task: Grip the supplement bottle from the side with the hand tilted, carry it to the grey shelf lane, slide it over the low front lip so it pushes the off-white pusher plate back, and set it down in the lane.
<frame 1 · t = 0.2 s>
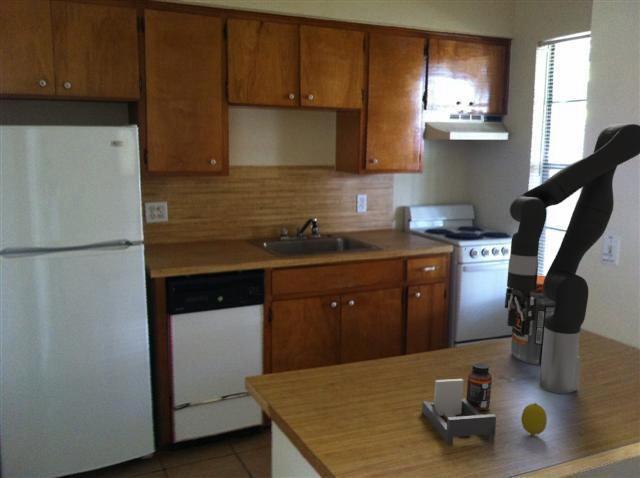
hand: (517, 330, 157), 18 cm above the counter, tool pointing down, fingers open, 8 cm apart
lemon: (532, 436, 136), on the counter
pusher plate: (456, 406, 139), point 5 cm above the counter, slide at 0.0 cm
supplement tub: (535, 358, 186), on the counter
supplement bottle: (477, 407, 150), on the counter
lane: (456, 425, 139), on the counter
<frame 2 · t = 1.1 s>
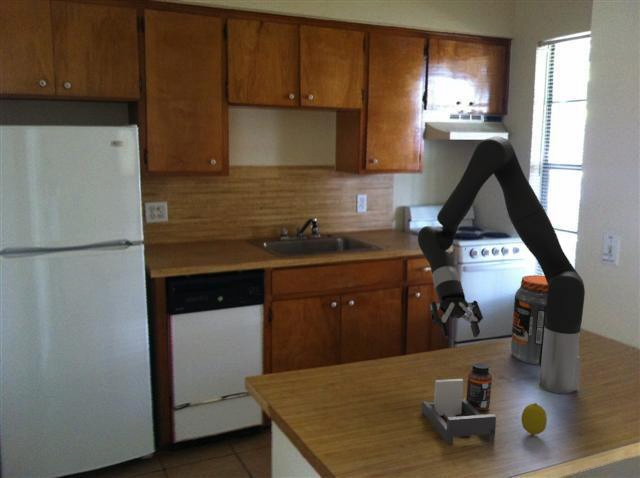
hand: (462, 336, 158), 15 cm above the counter, tool tilted 45°, fingers open, 8 cm apart
nothing on the counter moved.
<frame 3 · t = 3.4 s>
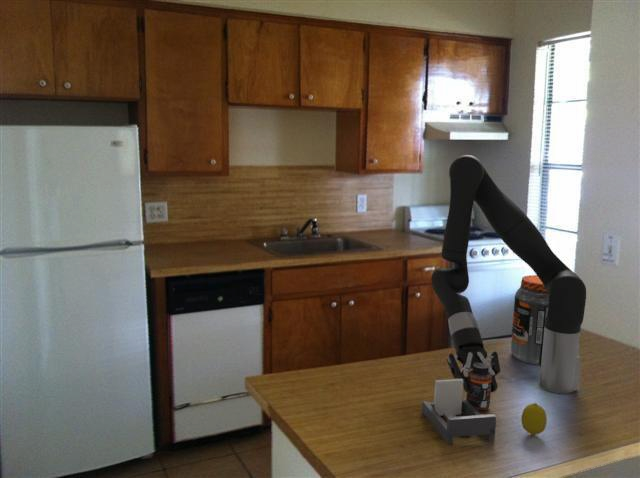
hand: (482, 391, 148), 5 cm above the counter, tool tilted 45°, fingers closed on supplement bottle, 6 cm apart
supplement bottle: (477, 407, 150), on the counter, touching gripper
everything else where it was.
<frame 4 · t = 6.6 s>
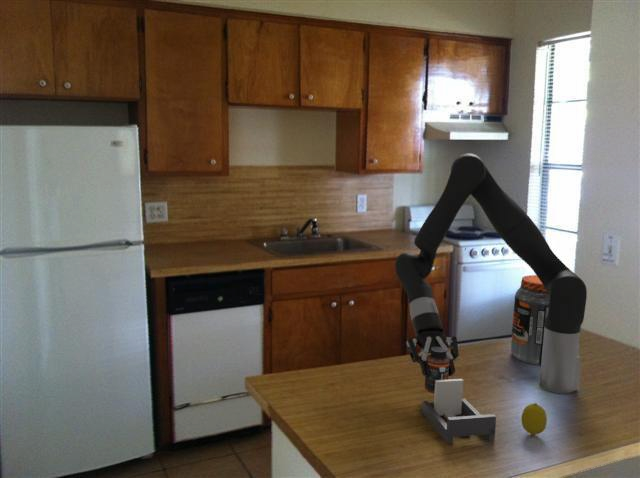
hand: (439, 375, 149), 8 cm above the counter, tool tilted 45°, fingers closed on supplement bottle, 6 cm apart
supplement bottle: (435, 390, 152), point 3 cm above the counter, touching gripper
everything else where it was.
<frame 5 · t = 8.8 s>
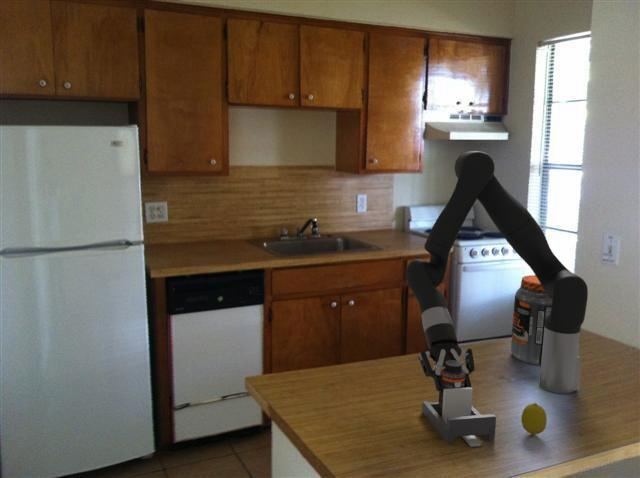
hand: (454, 390, 140), 8 cm above the counter, tool tilted 45°, fingers closed on supplement bottle, 6 cm apart
pusher plate: (466, 416, 134), point 5 cm above the counter, slide at 5.1 cm, touching supplement bottle
supplement bottle: (450, 407, 143), point 3 cm above the counter, touching gripper, pusher plate
everything else where it was.
when the fingers open (6 cm above the counter, at t = 9.8 s): supplement bottle drops 1 cm, resting in lane.
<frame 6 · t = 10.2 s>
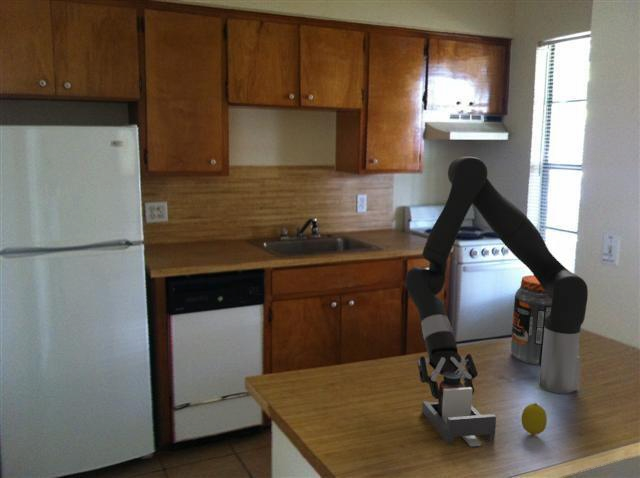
hand: (454, 396, 140), 6 cm above the counter, tool tilted 45°, fingers open, 8 cm apart
pusher plate: (465, 416, 134), point 5 cm above the counter, slide at 5.0 cm
supplement bottle: (449, 419, 143), resting in lane
everything else where it was.
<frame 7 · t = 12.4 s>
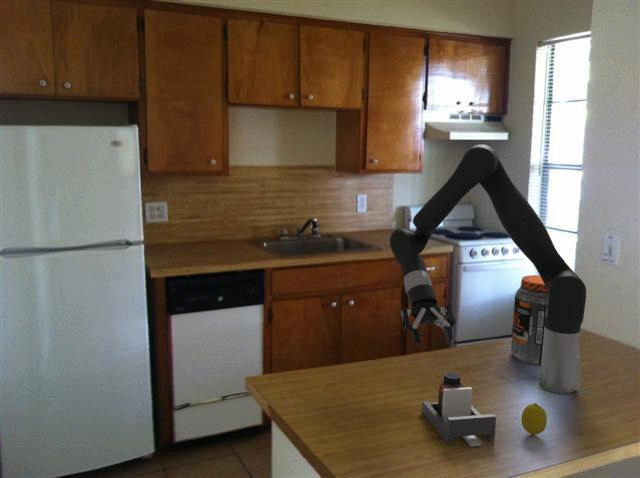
hand: (434, 342, 153), 15 cm above the counter, tool tilted 45°, fingers open, 8 cm apart
pusher plate: (465, 416, 134), point 5 cm above the counter, slide at 5.0 cm, touching supplement bottle
supplement bottle: (449, 419, 143), resting in lane, touching pusher plate
everything else where it was.
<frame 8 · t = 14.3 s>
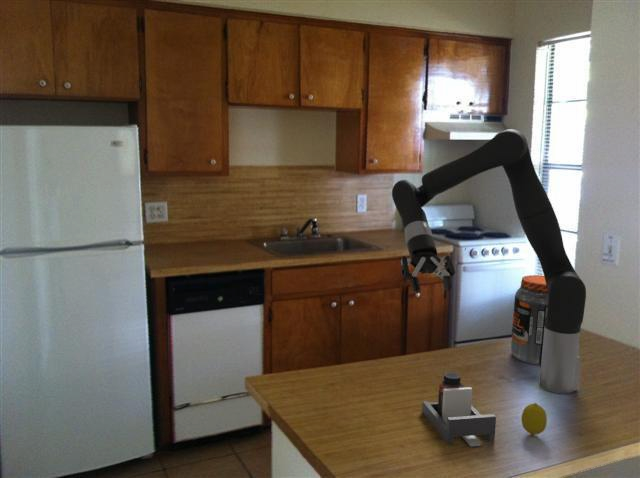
hand: (433, 291, 153), 29 cm above the counter, tool tilted 45°, fingers open, 8 cm apart
nothing on the counter moved.
at the end: supplement bottle inside the target area (2.2 cm from its centre), resting in lane; pusher plate slide at 5.0 cm; supplement bottle tilted 0° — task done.
